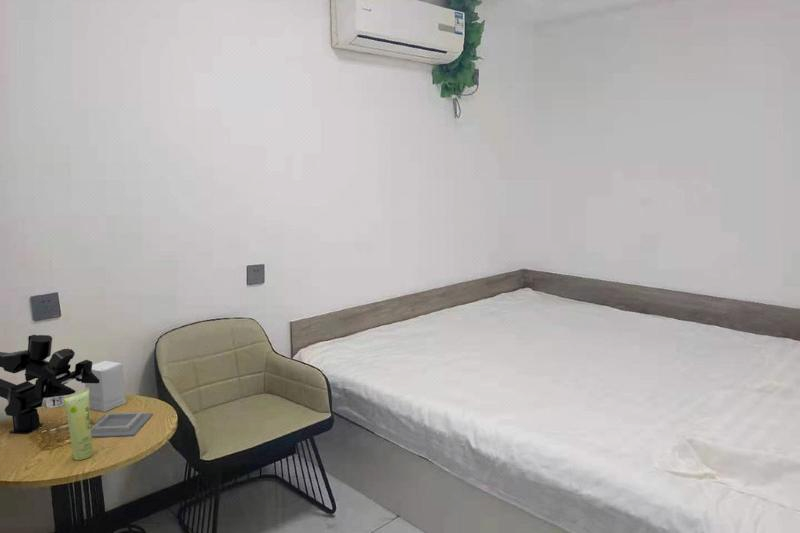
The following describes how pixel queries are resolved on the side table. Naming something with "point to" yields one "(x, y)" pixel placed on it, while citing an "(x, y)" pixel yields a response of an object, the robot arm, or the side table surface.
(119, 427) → the collar
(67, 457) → the side table surface
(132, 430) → the mat
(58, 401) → the beer glass
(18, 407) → the robot arm
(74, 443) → the tube
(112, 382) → the supplement box
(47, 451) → the side table surface
